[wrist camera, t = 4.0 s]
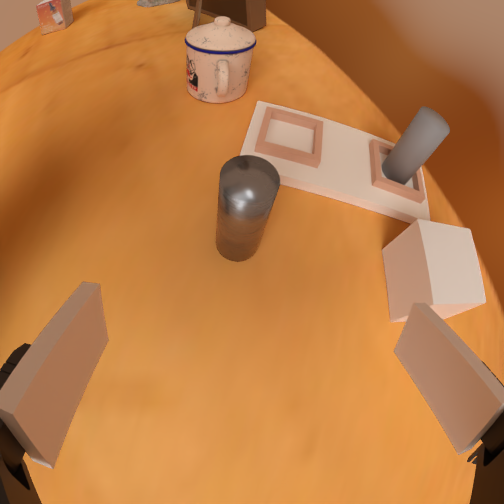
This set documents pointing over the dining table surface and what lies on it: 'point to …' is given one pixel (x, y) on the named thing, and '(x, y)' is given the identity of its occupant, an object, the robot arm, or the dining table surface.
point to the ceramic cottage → (153, 2)
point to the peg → (244, 205)
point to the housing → (432, 270)
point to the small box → (54, 15)
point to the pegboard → (348, 158)
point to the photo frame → (232, 11)
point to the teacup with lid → (218, 60)
